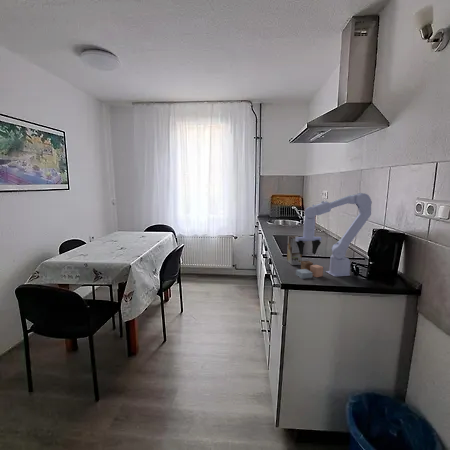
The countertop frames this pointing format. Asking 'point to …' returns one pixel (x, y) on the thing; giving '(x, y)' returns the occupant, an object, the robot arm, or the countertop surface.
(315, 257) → the countertop surface
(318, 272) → the terracotta block
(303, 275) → the plinth block
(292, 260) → the coffee box
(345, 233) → the robot arm
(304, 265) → the walnut block
